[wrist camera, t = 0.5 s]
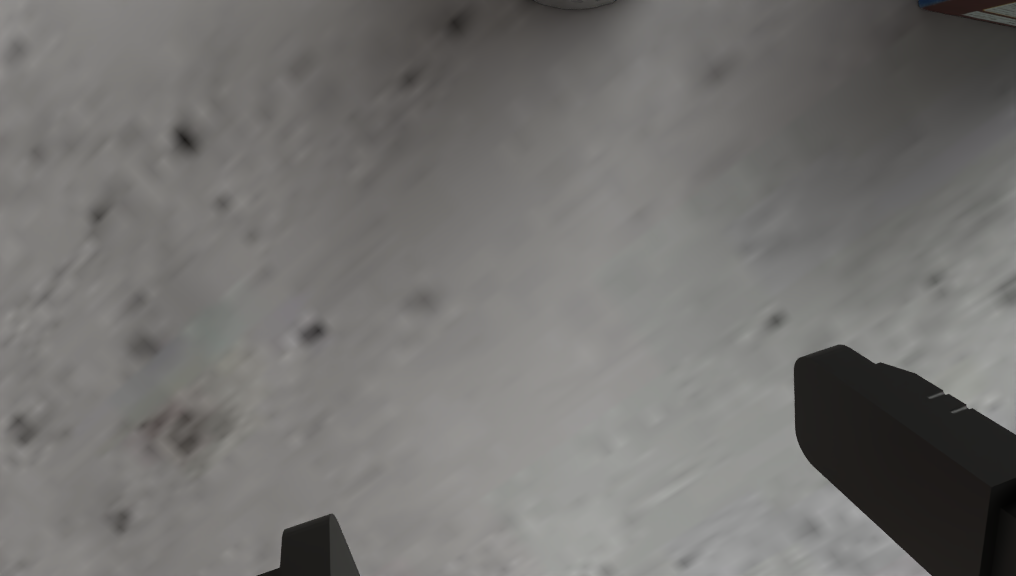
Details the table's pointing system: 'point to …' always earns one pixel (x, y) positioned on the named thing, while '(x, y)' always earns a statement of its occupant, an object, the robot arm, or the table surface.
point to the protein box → (976, 9)
